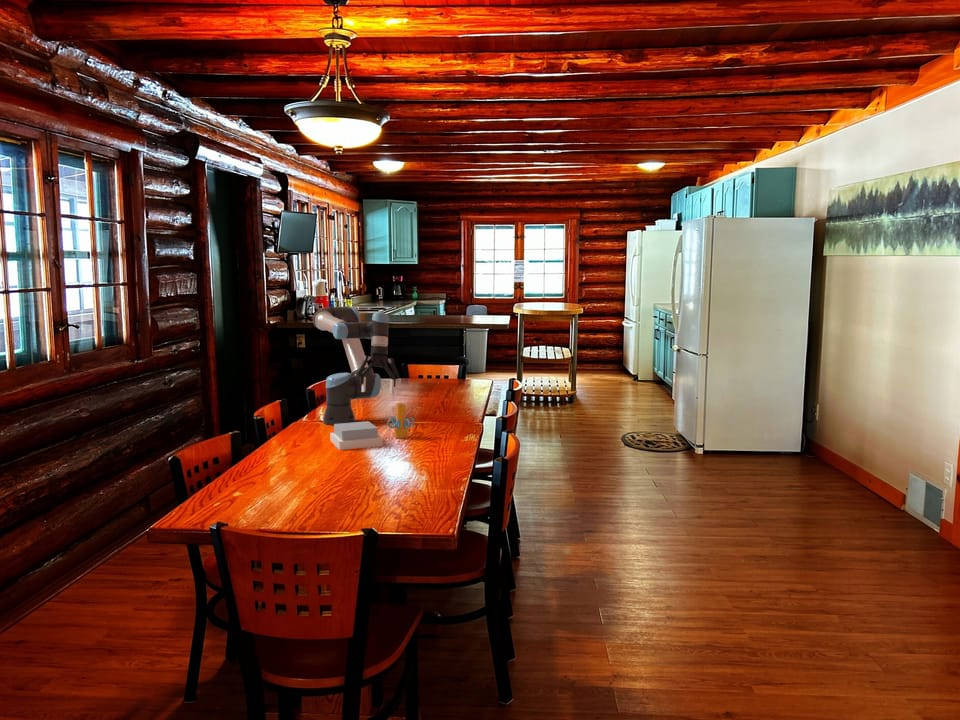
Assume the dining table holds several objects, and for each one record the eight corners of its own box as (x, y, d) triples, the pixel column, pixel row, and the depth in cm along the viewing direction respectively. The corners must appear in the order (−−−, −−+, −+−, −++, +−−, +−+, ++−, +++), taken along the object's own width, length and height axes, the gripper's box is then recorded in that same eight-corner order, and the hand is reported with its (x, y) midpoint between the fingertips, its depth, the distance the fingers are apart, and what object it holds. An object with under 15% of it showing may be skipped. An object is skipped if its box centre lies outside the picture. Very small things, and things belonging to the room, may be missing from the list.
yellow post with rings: (408, 440, 310) (408, 406, 308) (385, 439, 312) (384, 405, 310) (416, 434, 322) (416, 401, 320) (394, 433, 324) (393, 400, 322)
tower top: (334, 433, 309) (334, 424, 308) (368, 430, 315) (368, 421, 314) (342, 440, 295) (342, 431, 295) (377, 437, 301) (377, 428, 301)
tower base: (330, 441, 310) (330, 432, 310) (371, 438, 317) (370, 429, 317) (339, 451, 294) (339, 441, 293) (382, 447, 301) (382, 437, 301)
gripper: (356, 342, 320) (354, 389, 317) (407, 348, 332) (406, 394, 329) (350, 345, 327) (348, 391, 323) (401, 350, 339) (399, 395, 335)
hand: (377, 392), depth 326 cm, fingers open, 13 cm apart
